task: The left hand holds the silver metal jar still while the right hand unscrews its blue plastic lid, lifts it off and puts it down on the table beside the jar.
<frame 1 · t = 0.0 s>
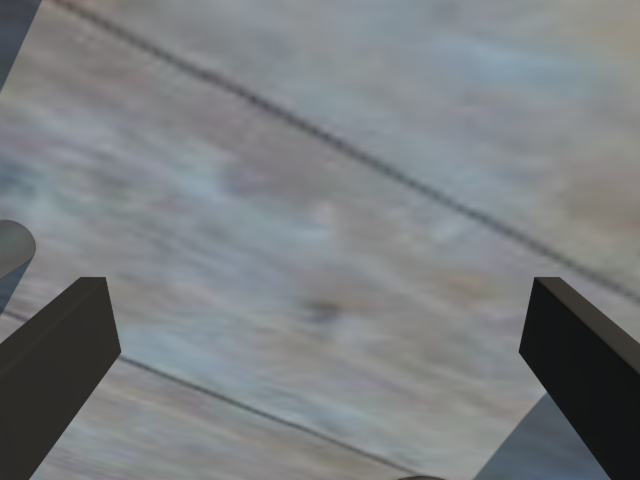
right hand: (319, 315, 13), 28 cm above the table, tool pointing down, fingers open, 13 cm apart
jar: (11, 241, 42), on the table
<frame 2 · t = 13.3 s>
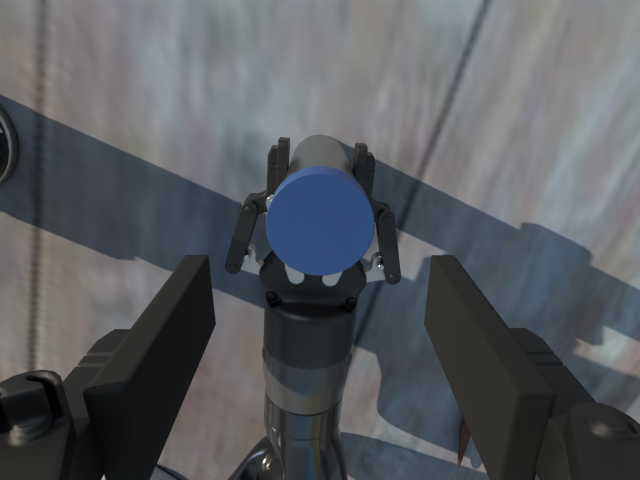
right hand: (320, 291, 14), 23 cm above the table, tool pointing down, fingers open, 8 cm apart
left hand: (323, 143, 29), fingers closed on jar, 5 cm apart
jar: (320, 163, 36), on the table, touching left hand
lid: (320, 224, 21), point 16 cm above the table, screwed on, not yet turned
fork: (466, 409, 46), on the table
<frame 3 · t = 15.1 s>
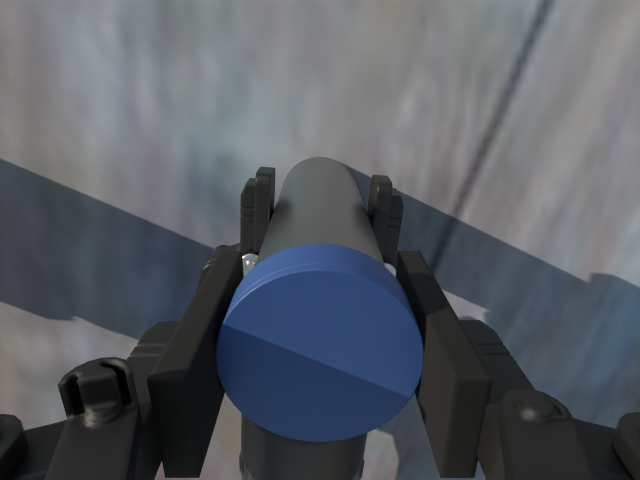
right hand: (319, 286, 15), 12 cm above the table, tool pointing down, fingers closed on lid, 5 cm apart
jar: (319, 195, 26), on the table, touching left hand
lid: (319, 355, 11), point 16 cm above the table, screwed on, not yet turned, touching right hand
when the right hand's fingers open (13 cm above the table, at t = 16.5 s): lid stays where it is, point 16 cm above the table.
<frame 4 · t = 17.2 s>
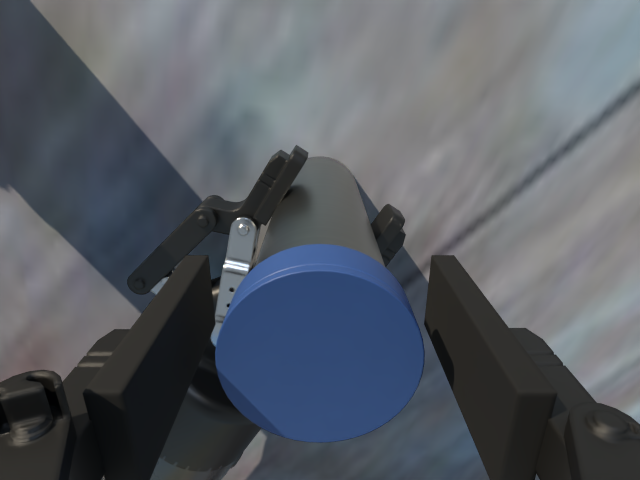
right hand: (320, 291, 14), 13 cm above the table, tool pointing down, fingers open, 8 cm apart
jar: (319, 194, 26), on the table, touching left hand
lid: (319, 356, 11), point 16 cm above the table, turned 96° so far, risen 0.3 cm, still on its thread
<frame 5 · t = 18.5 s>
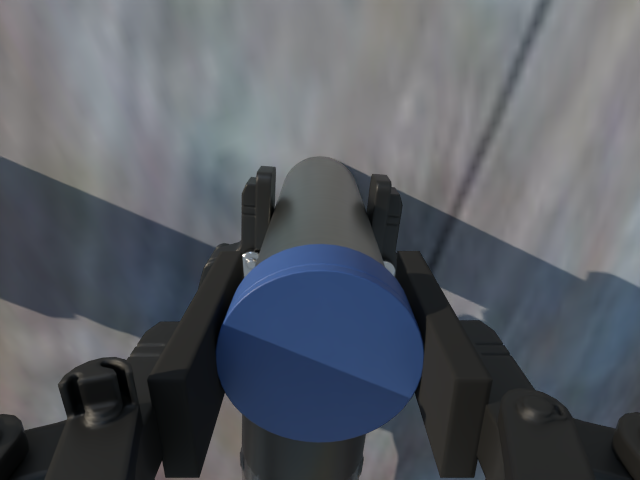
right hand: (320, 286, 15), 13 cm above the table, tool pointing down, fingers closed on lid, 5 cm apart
jar: (319, 194, 26), on the table, touching left hand
lid: (319, 356, 11), point 16 cm above the table, turned 96° so far, risen 0.3 cm, still on its thread, touching right hand
when the right hand's fingers open (0 cm above the table, at t = 25.5 s): lid drops 3 cm, point 1 cm above the table.
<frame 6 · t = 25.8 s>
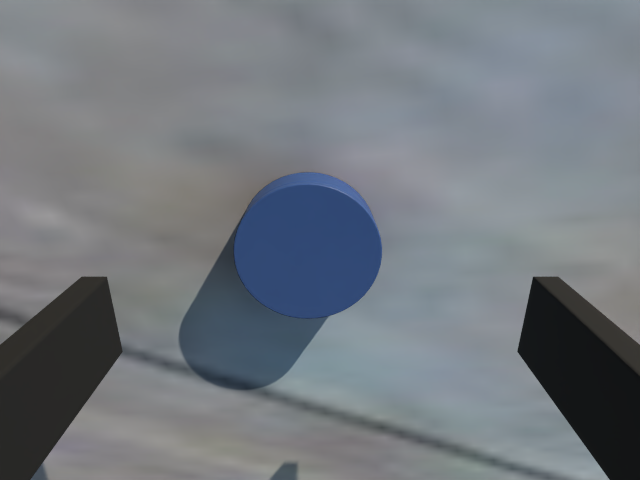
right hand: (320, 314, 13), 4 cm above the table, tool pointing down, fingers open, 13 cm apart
lid: (308, 252, 15), point 1 cm above the table, off its thread
when the left hand's fingers open (6 cm above the table, at t = 26.2 s): jar stays where it is, on the table.
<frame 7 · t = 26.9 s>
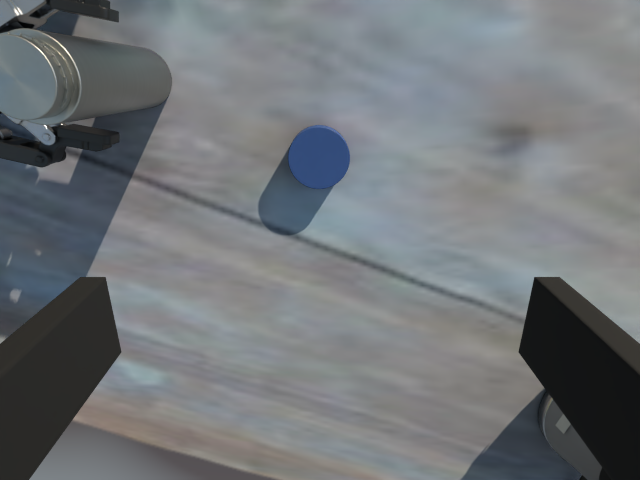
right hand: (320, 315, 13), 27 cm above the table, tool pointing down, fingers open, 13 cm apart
jar: (143, 78, 36), on the table
lid: (319, 158, 37), point 1 cm above the table, off its thread
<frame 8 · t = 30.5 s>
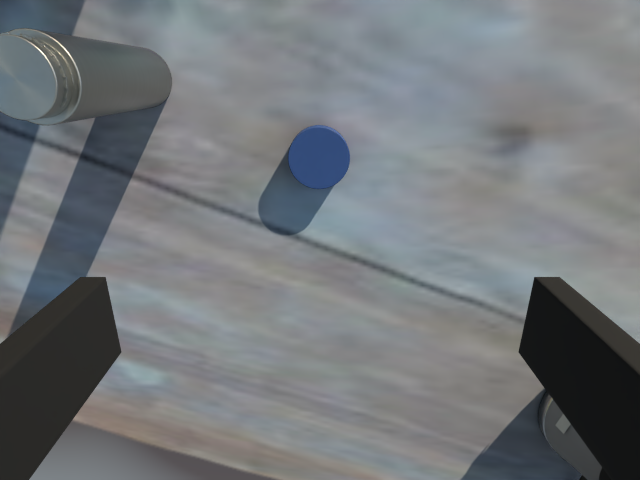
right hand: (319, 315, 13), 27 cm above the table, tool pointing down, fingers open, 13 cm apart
jar: (143, 78, 36), on the table
lid: (319, 158, 37), point 1 cm above the table, off its thread
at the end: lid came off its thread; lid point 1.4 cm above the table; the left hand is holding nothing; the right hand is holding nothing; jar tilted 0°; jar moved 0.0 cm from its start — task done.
